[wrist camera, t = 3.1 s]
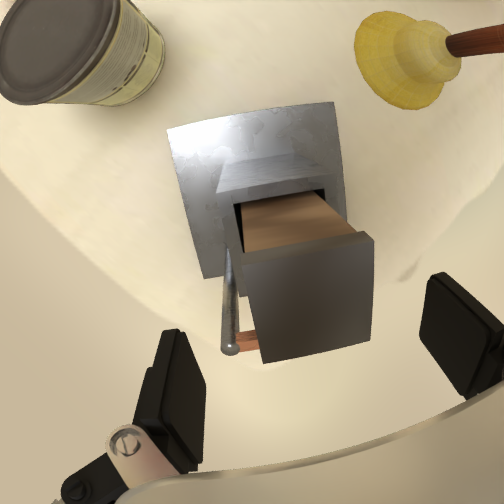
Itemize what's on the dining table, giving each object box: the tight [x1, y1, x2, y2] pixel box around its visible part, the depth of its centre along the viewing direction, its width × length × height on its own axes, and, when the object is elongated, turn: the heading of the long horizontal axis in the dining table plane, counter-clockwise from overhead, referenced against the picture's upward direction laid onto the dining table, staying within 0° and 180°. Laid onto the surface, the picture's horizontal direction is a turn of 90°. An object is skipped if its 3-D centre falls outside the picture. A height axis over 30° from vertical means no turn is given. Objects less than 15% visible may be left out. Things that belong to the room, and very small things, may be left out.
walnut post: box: [241, 190, 374, 364], centre depth 20 cm, size 5×5×19 cm
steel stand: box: [167, 102, 347, 356], centre depth 23 cm, size 16×16×16 cm
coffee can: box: [0, 0, 165, 106], centre depth 17 cm, size 10×10×14 cm
